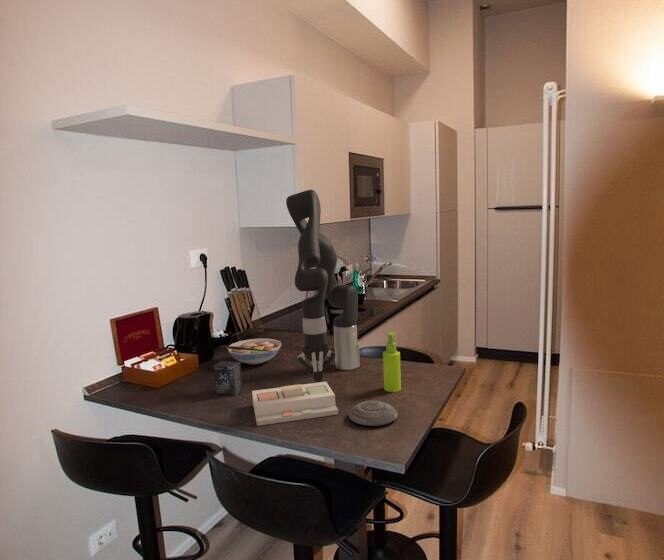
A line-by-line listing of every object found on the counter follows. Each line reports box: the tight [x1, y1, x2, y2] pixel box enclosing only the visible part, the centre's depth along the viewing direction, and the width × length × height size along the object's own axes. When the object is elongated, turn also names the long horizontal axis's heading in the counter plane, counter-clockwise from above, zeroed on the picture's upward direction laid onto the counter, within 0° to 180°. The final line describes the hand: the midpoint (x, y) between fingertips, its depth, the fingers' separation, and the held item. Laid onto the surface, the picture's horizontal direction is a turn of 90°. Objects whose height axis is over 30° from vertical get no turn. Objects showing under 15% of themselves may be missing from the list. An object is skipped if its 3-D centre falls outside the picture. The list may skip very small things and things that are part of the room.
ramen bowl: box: [218, 338, 282, 366], centre depth 212 cm, size 25×23×8 cm
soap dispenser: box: [382, 331, 402, 393], centre depth 174 cm, size 6×7×20 cm
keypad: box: [251, 381, 339, 426], centre depth 161 cm, size 25×16×5 cm, turn 103°
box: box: [213, 360, 243, 396], centre depth 179 cm, size 8×6×11 cm
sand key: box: [281, 383, 303, 398], centre depth 162 cm, size 6×6×3 cm
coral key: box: [258, 392, 278, 401], centre depth 160 cm, size 6×6×3 cm
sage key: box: [306, 386, 327, 395], centre depth 164 cm, size 6×6×3 cm
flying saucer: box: [347, 400, 399, 427], centre depth 152 cm, size 15×15×6 cm
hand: (317, 381), depth 163 cm, fingers closed
